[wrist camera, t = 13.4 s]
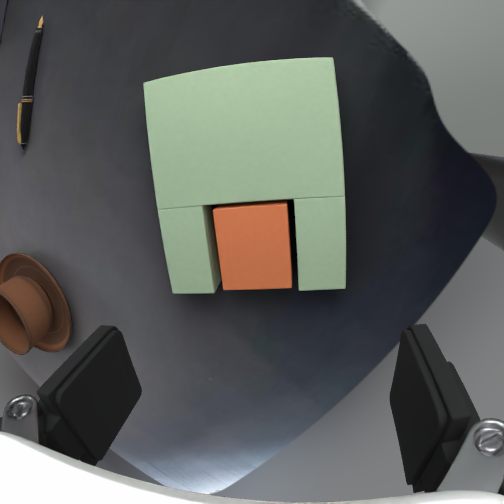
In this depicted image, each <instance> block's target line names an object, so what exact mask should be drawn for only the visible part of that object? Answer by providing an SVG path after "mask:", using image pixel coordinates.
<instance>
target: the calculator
mask: <svg viewBox="0 0 504 504" xmlns="http://www.w3.org/2000/svg"><path fill="white" fill-rule="evenodd" d="M6 4H7V0H0V42H1V35H2V28H3V21H4V15H5V10H6Z"/></svg>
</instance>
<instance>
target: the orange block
mask: <svg viewBox="0 0 504 504" xmlns="http://www.w3.org/2000/svg"><path fill="white" fill-rule="evenodd" d="M213 215H214V223H215V231H216V239H217V247H218V254H219V262H220V269H221V276H222V283H223V290H249V289H279V288H292V256H291V239H290V224H289V209H288V199H285V200H269V201H254V202H240V203H227V204H219V205H218V206H217V207H216V208H215V209H213Z"/></svg>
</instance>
